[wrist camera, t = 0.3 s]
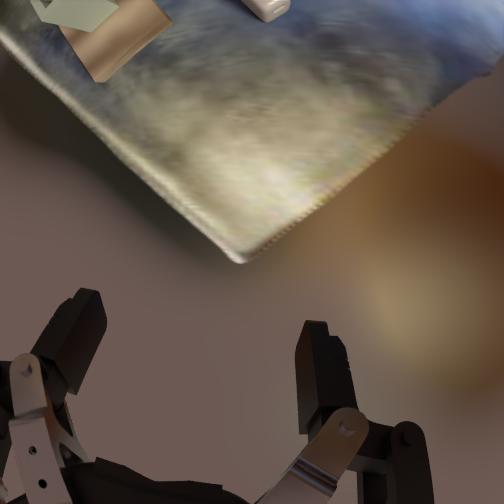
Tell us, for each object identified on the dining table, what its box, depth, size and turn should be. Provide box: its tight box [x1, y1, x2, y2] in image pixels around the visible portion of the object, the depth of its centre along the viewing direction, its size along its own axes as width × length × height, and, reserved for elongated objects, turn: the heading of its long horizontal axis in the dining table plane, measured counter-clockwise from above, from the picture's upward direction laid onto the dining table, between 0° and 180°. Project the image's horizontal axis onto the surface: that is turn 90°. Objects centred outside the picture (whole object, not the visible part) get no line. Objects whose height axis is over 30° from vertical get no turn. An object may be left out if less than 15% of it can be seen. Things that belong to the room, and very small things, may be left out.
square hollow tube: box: [30, 0, 120, 33], centre depth 18 cm, size 5×5×10 cm
